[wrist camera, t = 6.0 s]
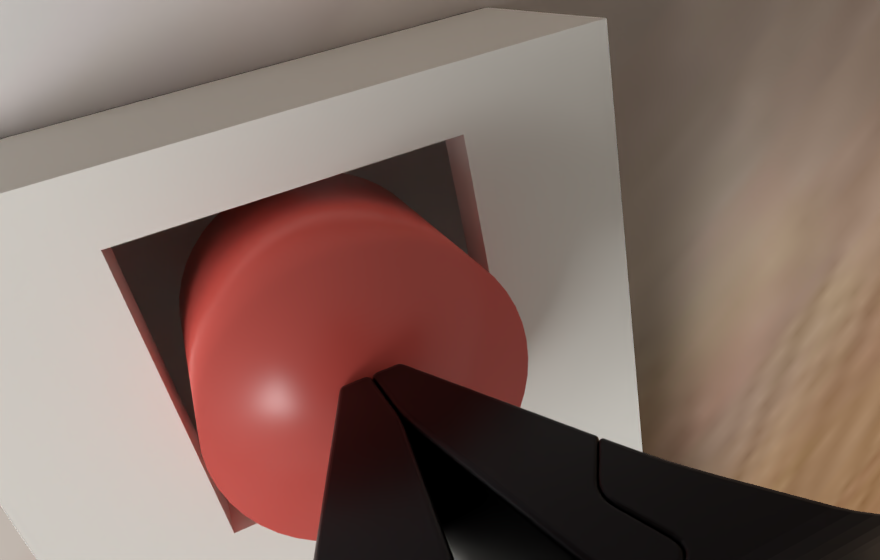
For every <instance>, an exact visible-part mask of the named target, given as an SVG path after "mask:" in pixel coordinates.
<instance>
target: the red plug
mask: <svg viewBox="0 0 880 560" xmlns="http://www.w3.org/2000/svg"><path fill="white" fill-rule="evenodd" d="M179 309H180V320H181V327H182V333H183V340H184V346H185V353H186V359H187V366H188V373H189V379H190V386H191V392H192V399H193V405H194V412H195V418H196V425H197V432H198V437H199V443H200V448H201V453H202V456H203V459H204V461H205V464H206V467H207V470H208V472H209V474H210V475H211V477H212V479H213V481H214V482H215V484H216V486H217V488H218V489H219V490H220V491H221V493H222V494H223V495H224V496H225V497H226V499H227V500H228V501H229V502H230V503H231V504H232V505H233V506H234V507H235V508H237V509H238V510H239V511H240V512H241V513H242V514H243V515H245V516H246V517H248V518H250V519H251V520H253V521H254V522H256V523H258V524H259V525H261V526H263V527H266V528H268V529H270V530H272V531H275V532H277V533H280V534H284V535H287V536H291V537H294V538H299V539H306V540H313V541H316V539H317V533H318V527H319V520H320V514H321V507H322V501H323V494H324V488H325V481H326V475H327V468H328V462H329V455H330V449H331V443H332V436H333V430H334V423H335V417H336V410H337V404H338V397H339V391H340V389H341V387H342V386H344V385H347V384H349V383H352V382H354V381H357V380H359V379H362V378H364V377H370V378H371V379H372V378H373V375H374V374H375V373H377V372H379V371H382V370H384V369H387V368H389V367H392V366H394V365H397V364H404V365H407V366H409V367H412V368H415V369H418V370H420V371H423V372H426V373H428V374H431V375H434V376H436V377H439V378H442V379H445V380H447V381H450V382H453V383H455V384H458V385H461V386H463V387H466V388H469V389H472V390H474V391H477V392H480V393H482V394H485V395H488V396H490V397H493V398H496V399H499V400H501V401H504V402H507V403H509V404H512V405H515V406H518V407H521V403H522V400H523V397H524V393H525V387H526V381H527V376H528V350H527V340H526V335H525V331H524V327H523V323H522V321H521V318H520V316H519V313H518V311H517V308H516V306H515V305H514V303H513V301H512V300H511V298H510V296H509V295H508V293H507V291H506V290H505V289H504V288H503V287H502V285H501V284H500V283H499V282H498V281H497V280H496V278H495V277H494V276H492V275H491V274H490V273H489V272H488V271H487V270H485V269H484V268H483V267H482V266H481V265H480V264H478V263H477V262H476V261H475V260H473V259H472V258H471V257H470V256H469V255H467V254H466V253H465V252H464V251H462V250H461V249H460V248H459V247H458V246H456V245H455V244H454V243H453V242H452V241H450V240H449V239H448V238H447V237H445V236H444V235H443V234H442V233H441V232H439V231H438V230H437V229H436V228H434V227H433V226H432V225H431V224H430V223H428V222H427V221H426V220H425V219H424V218H422V217H421V216H420V215H419V214H417V213H416V212H415V211H414V210H413V209H411V208H410V207H409V206H408V205H406V204H405V203H404V202H403V201H402V200H400V199H399V198H398V197H397V196H396V195H394V194H393V193H391V192H390V191H388V190H386V189H385V188H383V187H382V186H380V185H378V184H376V183H373V182H371V181H369V180H367V179H364V178H360V177H357V176H354V175H350V174H344V173H341V174H338V175H335V176H332V177H329V178H326V179H322V180H319V181H316V182H313V183H310V184H307V185H304V186H301V187H297V188H294V189H291V190H288V191H285V192H282V193H279V194H275V195H272V196H269V197H266V198H263V199H260V200H257V201H254V202H250V203H247V204H244V205H241V206H238V207H235V208H232V209H229V210H225V211H222V212H220V213H219V214H218V215H217V216H216V217H215V218H214V219H213V220H212V221H211V222H210V224H209V225H208V226H207V227H206V229H205V230H204V231H203V232H202V234H201V236H200V237H199V239H198V240H197V242H196V244H195V245H194V247H193V249H192V251H191V254H190V256H189V258H188V260H187V263H186V266H185V269H184V273H183V276H182V280H181V287H180V295H179Z"/></svg>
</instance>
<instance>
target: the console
mask: <svg viewBox="0 0 880 560" xmlns="http://www.w3.org/2000/svg"><path fill="white" fill-rule="evenodd" d="M341 173H344V174H350V175H354V176H357V177H360V178H364V179H367V180H369V181H371V182H373V183H376V184H378V185H380V186H382V187H383V188H385V189H386V190H388V191H390V192H391V193H393V194H394V195H396V196H397V197H398V198H399V199H400V200H402V201H403V202H404V203H405V204H406V205H408V206H409V207H410V208H411V209H413V210H414V211H415V212H416V213H417V214H419V215H420V216H421V217H422V218H424V219H425V220H426V221H427V222H428V223H430V224H431V225H432V226H433V227H434V228H436V229H437V230H438V231H439V232H441V233H442V234H443V235H444V236H445V237H447V238H448V239H449V240H450V241H452V242H453V243H454V244H455V245H456V246H458V247H459V248H460V249H461V250H462V251H464V252H465V253H466V254H467V255H469V256H470V257H471V258H472V259H473V260H475V261H476V262H477V263H478V264H480V265H481V266H482V267H483V268H484V269H485V270H487V271H488V272H489V273H490V274H491V275H492V276H494V277H495V278H496V280H497V281H498V282H499V283H500V284H501V285H502V287H503V288H504V289H505V290H506V291H507V293H508V295H509V296H510V298H511V300H512V301H513V303H514V305H515V306H516V308H517V311H518V313H519V316H520V318H521V321H522V323H523V327H524V331H525V335H526V340H527V350H528V376H527V381H526V387H525V393H524V397H523V400H522V403H521V407H520V408H523V409H526V410H528V411H531V412H534V413H536V414H539V415H542V416H545V417H547V418H550V419H553V420H555V421H558V422H561V423H563V424H566V425H569V426H572V427H574V428H577V429H580V430H582V431H585V432H588V433H590V434H593V435H596V436H597V437H598V438H599V440H600V439H601V438H605V439H607V440H610V441H613V442H615V443H618V444H621V445H624V446H626V447H629V448H632V449H635V450H638V451H641V452H643V451H642V439H641V427H640V415H639V403H638V390H637V378H636V366H635V354H634V342H633V330H632V318H631V306H630V294H629V282H628V270H627V258H626V246H625V234H624V221H623V209H622V197H621V185H620V173H619V161H618V149H617V137H616V125H615V113H614V101H613V89H612V77H611V65H610V52H609V40H608V28H607V18H601V17H590V16H578V15H567V14H556V13H544V12H533V11H522V10H511V9H499V8H488V7H486V8H482V9H479V10H475V11H471V12H468V13H464V14H460V15H457V16H453V17H449V18H446V19H442V20H438V21H434V22H431V23H427V24H423V25H420V26H416V27H412V28H409V29H405V30H401V31H398V32H394V33H390V34H386V35H383V36H379V37H375V38H372V39H368V40H364V41H361V42H357V43H353V44H350V45H346V46H342V47H339V48H335V49H331V50H327V51H324V52H320V53H316V54H313V55H309V56H305V57H302V58H298V59H294V60H291V61H287V62H283V63H279V64H276V65H272V66H268V67H265V68H261V69H257V70H254V71H250V72H246V73H243V74H239V75H235V76H232V77H228V78H224V79H220V80H217V81H213V82H209V83H206V84H202V85H198V86H195V87H191V88H187V89H184V90H180V91H176V92H173V93H169V94H165V95H161V96H158V97H154V98H150V99H147V100H143V101H139V102H136V103H132V104H128V105H125V106H121V107H117V108H113V109H110V110H106V111H102V112H99V113H95V114H91V115H88V116H84V117H80V118H77V119H73V120H69V121H66V122H62V123H58V124H54V125H51V126H47V127H43V128H40V129H36V130H32V131H29V132H25V133H21V134H18V135H14V136H10V137H6V138H3V139H0V506H1V508H2V509H3V511H4V512H5V514H6V515H7V517H8V518H9V520H10V521H11V523H12V524H13V525H14V527H15V528H16V530H17V531H18V533H19V534H20V536H21V537H22V539H23V540H24V542H25V543H26V545H27V546H28V548H29V549H30V551H31V552H32V554H33V555H34V557H35V558H36V560H313V559H314V552H315V546H316V541H313V540H306V539H299V538H294V537H291V536H287V535H284V534H280V533H277V532H275V531H272V530H270V529H268V528H266V527H263V526H261V525H259V524H258V523H256V522H254V521H253V520H251V519H250V518H248V517H246V516H245V515H243V514H242V513H241V512H240V511H239V510H238V509H237V508H235V507H234V506H233V505H232V504H231V503H230V502H229V501H228V500H227V499H226V497H225V496H224V495H223V494H222V493H221V491H220V490H219V489H218V488H217V486H216V484H215V482H214V481H213V479H212V477H211V475H210V474H209V472H208V470H207V467H206V464H205V461H204V459H203V456H202V453H201V448H200V443H199V437H198V432H197V425H196V418H195V412H194V405H193V399H192V392H191V386H190V379H189V373H188V366H187V359H186V353H185V346H184V340H183V333H182V327H181V320H180V309H179V295H180V287H181V280H182V276H183V273H184V269H185V266H186V263H187V260H188V258H189V256H190V254H191V251H192V249H193V247H194V245H195V244H196V242H197V240H198V239H199V237H200V236H201V234H202V232H203V231H204V230H205V229H206V227H207V226H208V225H209V224H210V222H211V221H212V220H213V219H214V218H215V217H216V216H217V215H218V214H219V213H220V212H222V211H225V210H229V209H232V208H235V207H238V206H241V205H244V204H247V203H250V202H254V201H257V200H260V199H263V198H266V197H269V196H272V195H275V194H279V193H282V192H285V191H288V190H291V189H294V188H297V187H301V186H304V185H307V184H310V183H313V182H316V181H319V180H322V179H326V178H329V177H332V176H335V175H338V174H341Z"/></svg>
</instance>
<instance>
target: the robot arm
mask: <svg viewBox="0 0 880 560" xmlns="http://www.w3.org/2000/svg"><path fill="white" fill-rule="evenodd" d="M313 560H880V514H874V513H867V512H860V511H854V510H849V509H845V508H840V507H836V506H832V505H828V504H824V503H821V502H817V501H813V500H809V499H806V498H802V497H798V496H794V495H790V494H787V493H783V492H779V491H775V490H772V489H768V488H764V487H760V486H757V485H753V484H749V483H745V482H741V481H738V480H734V479H730V478H726V477H723V476H719V475H715V474H712V473H708V472H705V471H701V470H698V469H694V468H691V467H688V466H684V465H681V464H677V463H674V462H670V461H667V460H664V459H661V458H658V457H655V456H652V455H650V454H647V453H644V452H641V451H638V450H635V449H632V448H629V447H626V446H624V445H621V444H618V443H615V442H613V441H610V440H607V439H605V438H601V439H600V440H599V438H598V437H597V436H596V435H593V434H590V433H588V432H585V431H582V430H580V429H577V428H574V427H572V426H569V425H566V424H563V423H561V422H558V421H555V420H553V419H550V418H547V417H545V416H542V415H539V414H536V413H534V412H531V411H528V410H526V409H523V408H520V407H518V406H515V405H512V404H509V403H507V402H504V401H501V400H499V399H496V398H493V397H490V396H488V395H485V394H482V393H480V392H477V391H474V390H472V389H469V388H466V387H463V386H461V385H458V384H455V383H453V382H450V381H447V380H445V379H442V378H439V377H436V376H434V375H431V374H428V373H426V372H423V371H420V370H418V369H415V368H412V367H409V366H407V365H404V364H397V365H394V366H392V367H389V368H387V369H384V370H382V371H379V372H377V373H375V374H374V375H373V378H372V379H371V378H370V377H364V378H362V379H359V380H357V381H354V382H352V383H349V384H347V385H344V386H342V387H341V389H340V391H339V397H338V404H337V410H336V417H335V423H334V430H333V436H332V443H331V449H330V455H329V462H328V468H327V475H326V481H325V488H324V494H323V501H322V507H321V514H320V520H319V527H318V533H317V539H316V546H315V552H314V559H313Z"/></svg>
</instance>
